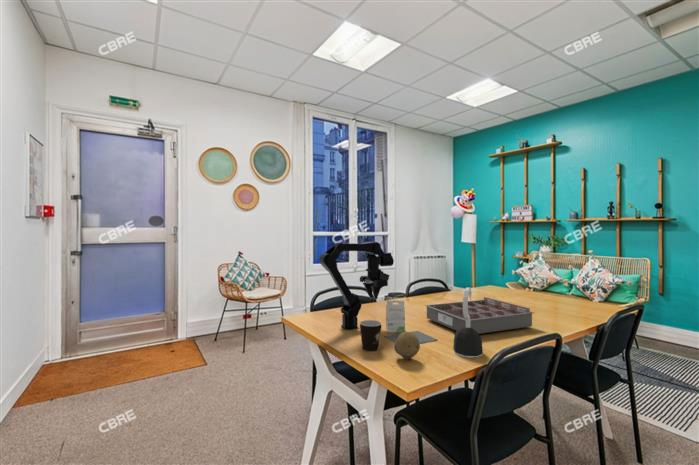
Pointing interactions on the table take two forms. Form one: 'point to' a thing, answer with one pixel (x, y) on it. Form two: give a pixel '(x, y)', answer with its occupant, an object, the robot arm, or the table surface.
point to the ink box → (395, 316)
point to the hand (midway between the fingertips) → (373, 298)
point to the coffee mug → (370, 334)
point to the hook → (467, 334)
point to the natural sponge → (407, 345)
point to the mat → (421, 336)
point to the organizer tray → (481, 315)
